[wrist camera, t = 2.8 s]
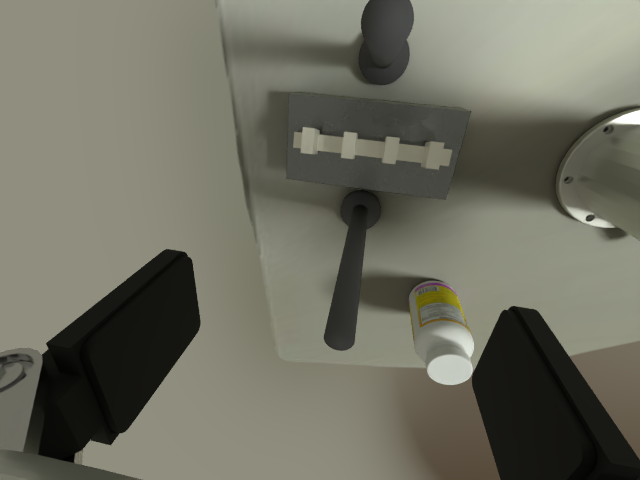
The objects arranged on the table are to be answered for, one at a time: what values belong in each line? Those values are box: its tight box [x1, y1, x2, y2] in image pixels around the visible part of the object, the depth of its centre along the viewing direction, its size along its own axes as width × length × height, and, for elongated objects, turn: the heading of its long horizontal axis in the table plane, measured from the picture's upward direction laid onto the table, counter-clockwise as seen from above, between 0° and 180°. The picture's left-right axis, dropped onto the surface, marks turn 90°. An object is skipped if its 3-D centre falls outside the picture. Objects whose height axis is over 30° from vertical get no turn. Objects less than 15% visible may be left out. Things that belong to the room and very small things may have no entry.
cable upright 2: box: [359, 0, 414, 85], centre depth 22 cm, size 5×5×23 cm
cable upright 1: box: [324, 190, 380, 351], centre depth 30 cm, size 5×5×23 cm
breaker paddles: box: [293, 127, 452, 170], centre depth 31 cm, size 16×2×4 cm, turn 86°
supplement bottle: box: [409, 281, 474, 385], centre depth 39 cm, size 7×7×13 cm
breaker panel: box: [286, 92, 471, 200], centre depth 35 cm, size 18×9×4 cm, turn 86°
